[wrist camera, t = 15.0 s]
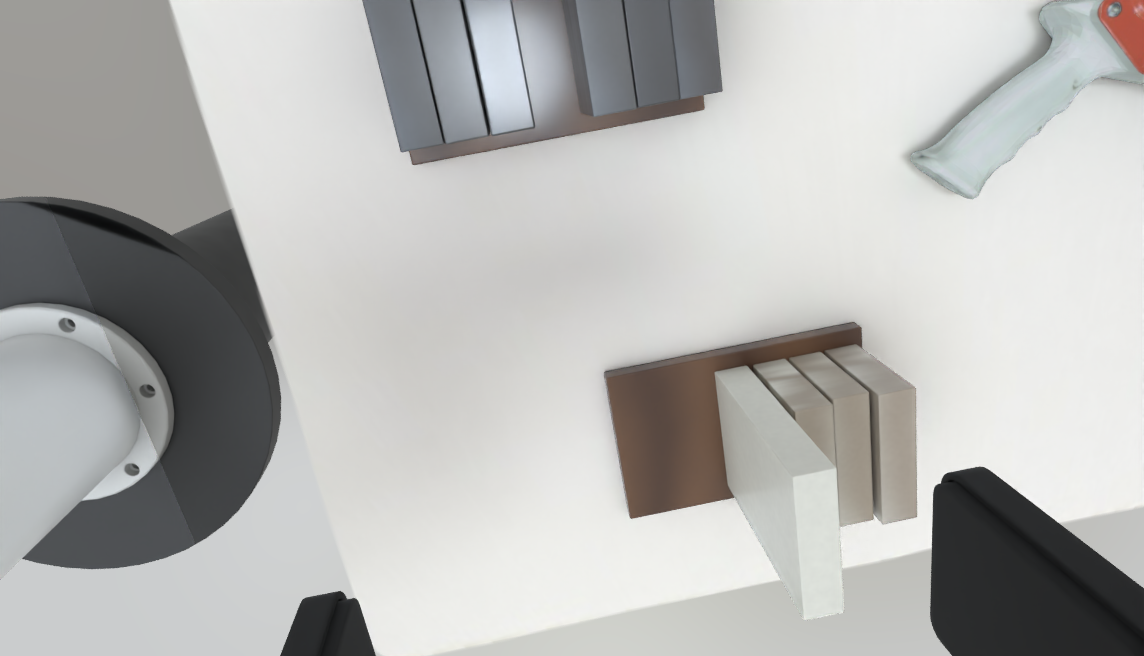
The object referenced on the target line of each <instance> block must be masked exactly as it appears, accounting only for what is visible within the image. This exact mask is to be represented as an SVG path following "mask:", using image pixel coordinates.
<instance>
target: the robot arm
mask: <svg viewBox="0 0 1144 656" xmlns="http://www.w3.org/2000/svg"><path fill="white" fill-rule="evenodd" d="M173 424H174V406H173V399H172V394H171V391H170V389H169V386H168V383H167V380H166V378H165V376H164V374H163V372H162V371H161V369H160V367H159V366H158V364H157V362H156V361H155V359H154V358H153V357H152V356H151V355H150V354H149V352H148V351H147V350H146V349H145V348H144V347H143V345H142V344H141V343H139V342H138V341H137V340H136V339H135V338H133V337H132V336H131V335H130V334H129V333H128V332H126V331H125V330H124V329H122V328H120V327H119V326H117V325H115V324H114V323H112V322H110V321H109V320H107V319H105V318H103V317H101V316H98V315H96V314H93V313H91V312H88V311H86V310H83V309H79V308H75V307H71V306H66V305H62V304H51V303H30V304H20V305H15V306H11V307H8V308H4V309H1V310H0V580H1V578H3V577H4V576H5V575H6V574H7V573H8V572H9V571H10V570H11V569H12V568H13V567H14V566H15V565H16V564H17V563H18V562H19V561H20V560H21V559H22V558H23V557H24V556H25V555H26V554H27V553H28V552H29V551H30V550H31V549H32V548H33V547H34V546H35V545H36V544H37V543H38V542H39V541H40V540H41V539H43V538H44V537H45V536H46V535H47V534H48V533H49V532H50V531H51V530H52V529H53V528H54V527H55V526H56V525H57V524H58V523H59V522H60V521H61V520H62V519H63V518H64V517H65V516H66V515H67V514H68V513H69V512H70V511H71V510H72V509H73V508H74V507H75V506H76V505H77V504H78V503H79V502H80V501H85V500H93V499H100V498H103V497H106V496H110V495H113V494H117V493H119V492H121V491H122V490H124V489H126V488H128V487H130V486H132V485H134V484H135V483H136V482H138V481H139V480H140V479H141V478H143V477H144V476H145V475H146V474H147V473H148V472H149V471H150V470H151V469H152V468H153V467H154V466H155V465H156V463H157V462H158V461H159V460H160V458H161V457H162V455H163V453H164V452H165V450H166V449H167V447H168V444H169V441H170V438H171V435H172V432H173ZM931 569H932V570H931V607H930V616H931V622H932V626H933V629H934V631H935V633H936V635H937V637H938V638H939V640H940V641H941V642H942V644H943V645H944V646H945V648H946V649H947V650H948V651H949V652H950V654H951V655H952V656H1144V588H1143V587H1141V586H1140V585H1139V584H1137V583H1136V582H1135V581H1133V580H1132V579H1131V578H1129V577H1128V576H1127V575H1126V574H1124V573H1123V572H1122V571H1120V570H1119V569H1118V568H1116V567H1115V566H1114V565H1113V564H1111V563H1110V562H1109V561H1107V560H1106V559H1105V558H1103V557H1102V556H1101V555H1099V554H1098V553H1097V552H1096V551H1094V550H1093V549H1092V548H1090V547H1089V546H1088V545H1086V544H1085V543H1084V542H1083V541H1081V540H1080V539H1079V538H1077V537H1076V536H1075V535H1073V534H1072V533H1071V532H1070V531H1068V530H1067V529H1066V528H1064V527H1063V526H1062V525H1060V524H1059V523H1058V522H1056V521H1055V520H1054V519H1053V518H1051V517H1050V516H1049V515H1047V514H1046V513H1045V512H1043V511H1042V510H1041V509H1040V508H1038V507H1037V506H1036V505H1034V504H1033V503H1032V502H1030V501H1029V500H1028V499H1026V498H1025V497H1024V496H1023V495H1021V494H1020V493H1019V492H1017V491H1016V490H1015V489H1013V488H1012V487H1011V486H1010V485H1008V484H1007V483H1006V482H1004V481H1003V480H1002V479H1000V478H999V477H998V476H996V475H995V474H994V473H993V472H991V471H990V470H988V469H986V468H985V467H975V468H970V469H965V470H960V471H955V472H950V473H947V474H945V475H944V476H943V478H942V481H941V484H938V485H936V486H935V488H934V492H933V526H932V566H931ZM280 656H376V655H375V652H374V649H373V645H372V642H371V639H370V636H369V633H368V630H367V626H366V623H365V620H364V617H363V614H362V611H361V607H360V605H359V602H358V600H357V599H355V598H352V599H347V598H346V596H345V594H344V593H343V592H341V591H338V592H333V593H328V594H322V595H317V596H312V597H307V598H305V599H303V600H302V602H301V604H300V606H299V608H298V611H297V614H296V616H295V619H294V621H293V624H292V626H291V629H290V632H289V634H288V637H287V640H286V642H285V645H284V647H283V650H282V653H281V655H280Z"/></svg>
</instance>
